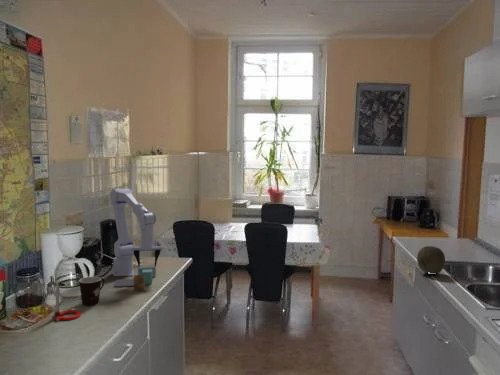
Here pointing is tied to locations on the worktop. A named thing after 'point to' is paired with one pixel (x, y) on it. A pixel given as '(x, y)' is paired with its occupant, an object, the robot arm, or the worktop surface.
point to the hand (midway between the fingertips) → (147, 265)
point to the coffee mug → (90, 290)
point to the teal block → (147, 276)
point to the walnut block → (139, 282)
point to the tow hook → (58, 314)
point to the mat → (124, 283)
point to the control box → (146, 267)
